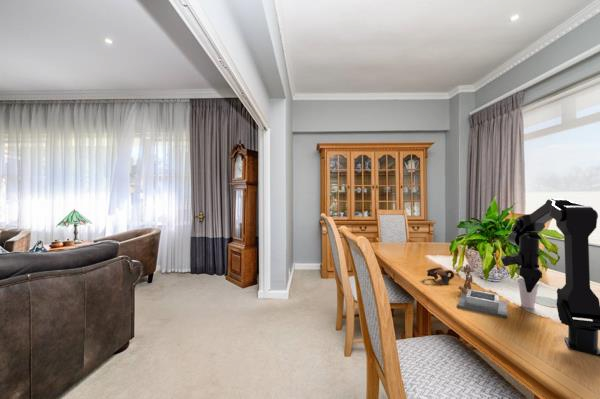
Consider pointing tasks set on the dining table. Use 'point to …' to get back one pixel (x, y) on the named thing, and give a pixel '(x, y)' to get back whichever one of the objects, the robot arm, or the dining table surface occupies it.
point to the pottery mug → (441, 275)
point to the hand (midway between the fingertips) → (527, 289)
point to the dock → (483, 303)
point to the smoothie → (527, 294)
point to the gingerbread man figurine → (467, 279)
